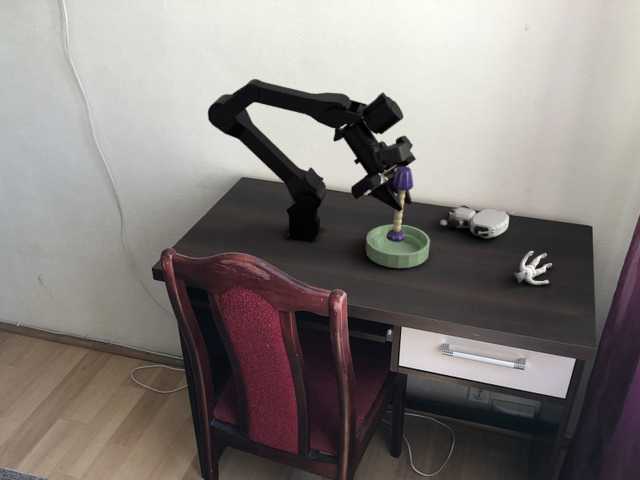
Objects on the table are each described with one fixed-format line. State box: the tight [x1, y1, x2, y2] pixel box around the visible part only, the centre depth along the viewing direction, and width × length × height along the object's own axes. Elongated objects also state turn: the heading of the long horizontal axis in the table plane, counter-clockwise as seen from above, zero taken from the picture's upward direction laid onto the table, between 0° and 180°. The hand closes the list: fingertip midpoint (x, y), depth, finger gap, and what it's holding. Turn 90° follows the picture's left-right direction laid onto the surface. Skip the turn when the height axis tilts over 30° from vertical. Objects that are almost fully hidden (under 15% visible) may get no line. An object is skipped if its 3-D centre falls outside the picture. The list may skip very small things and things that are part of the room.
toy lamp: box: [386, 166, 414, 242], centre depth 151 cm, size 5×5×17 cm
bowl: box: [365, 223, 431, 269], centre depth 157 cm, size 14×14×4 cm
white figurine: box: [513, 250, 553, 286], centre depth 149 cm, size 8×5×12 cm
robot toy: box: [440, 205, 515, 239], centre depth 167 cm, size 12×4×15 cm
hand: (405, 207), depth 150 cm, fingers closed on toy lamp, 4 cm apart
